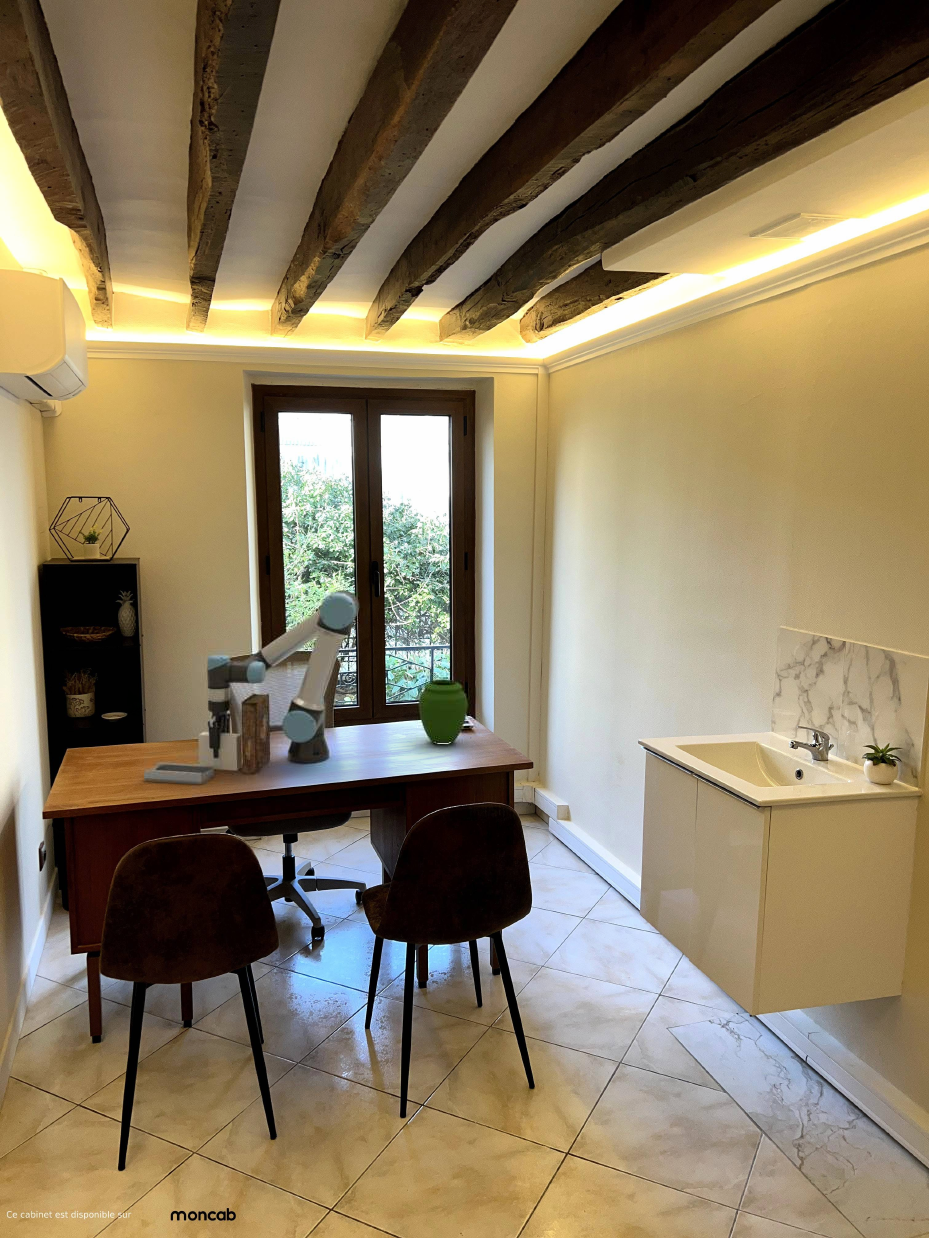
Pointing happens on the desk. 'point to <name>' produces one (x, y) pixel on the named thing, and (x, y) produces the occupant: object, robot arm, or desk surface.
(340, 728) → the desk surface
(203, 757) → the door
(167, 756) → the desk surface
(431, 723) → the vase
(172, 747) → the desk surface
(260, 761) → the book
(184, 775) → the track
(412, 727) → the desk surface
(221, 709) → the robot arm
